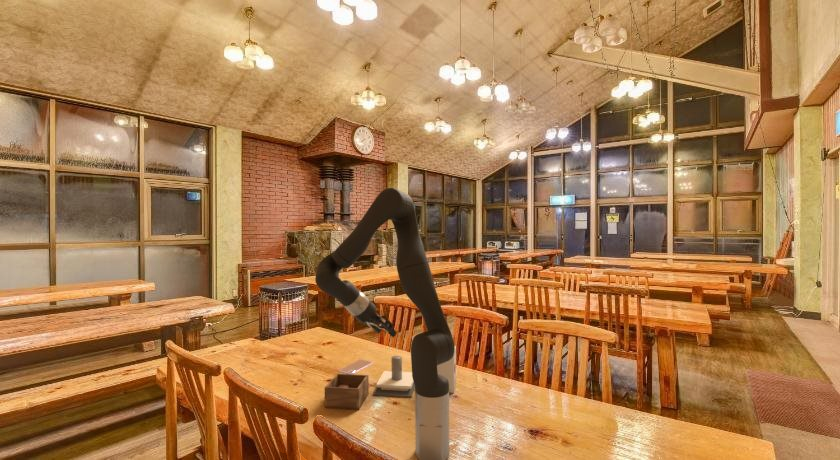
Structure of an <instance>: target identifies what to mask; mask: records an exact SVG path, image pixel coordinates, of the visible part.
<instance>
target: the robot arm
mask: <svg viewBox="0 0 840 460" xmlns="http://www.w3.org/2000/svg"><path fill="white" fill-rule="evenodd" d="M387 221H391V222H392V223H391V224H392V225H393V228H394V231H395V234H396V239H397V251H396V261H395V262H396V270H397V274H398V277H399V282H400V286H401V289H402V290H403V292H404V293H405V295H406V296H407V297H408V299H409V300H410V301H411V302H412V304H414V305H415V307H416V308H417V309H418V311H419V313H420V314H421V315H422V318H423V320H424V325H425V328H426V331H423V332H419V333H418V334H416V335H415V336H414V337H413V338H412V341H411V343H410V344H411V345H410V360H411V372H412V377H413V381H414V384H415V388H414V414H415V415H414V417H415V418H414V419H415V420H414V421H415V423H414V425H415V426H414V428H415V431H414V435H415V437H414V438H415V439H414V440H415V457H416V458H417V457H418V458H419V459H418V458H417V459H418V460H447V459H448V458H449V456H450V393H449V381H448V379H447V378H446V377H444V376H442V375H439V374H438V371H437V365H440V364H442V363H445V362H447V361H449V360H451V359H452V357H453V356H454V352H455V346H456V345H455V341H454V338H453V334H452V332H451V329H450V327H449V324H448V321H447V319H446V317H445V314H444V311H443V309H442V305H441V301H440V299H439V297H438V293H437V289H436V287H435V283H434V279H433V275H432V274H433V273H432V271H431V268H430V264H429V261H428V257H427V254H426V251H425V248H424V244H423V240H422V238H421V234H420V231H419V224H418V220H417V213H416V208H415V203H414V201H413V199H412V197H411V196H410V195H409V194H408V193H406V192H404V191H402V190H400V189H398V188H394V187H387V188H384V189H383V190H381V191H380V192H379V194H378V195H377V196H376V197H375V199H374V200H373V202H372V203H371V205H370V206H369V208H368V209H367V211H366V212H365V214H364V215H363V216H362V218H361V219H360V221H359V223H358V224H357V225H356V227H354V229H353V230H352V231H351V232H350V234H349V235H348V236H347V237H346V238H345V239H344V240H343V241H342V242H341V243H340V245H338V246H337V248H336V249H335V250H333V251H332V252H330V253H329V254H327V255H326V256H325V257H324V258H322V259H321V260H320V262H319V263H318V265H317V266H316V272H315V278H314V279H315V281H314V282H315V284H316V286H317V287H318V288H319V290H321V292H324V293H325V294H327V295H328V296H330V297H333V298H335V299H336V300H337V301H338V302H339V303H340V304H341V305H342V306H343V307H344V308H345V309H346V310H347V311H348V313H349V314H351V315H352V317H354V318H355V319H356V320H357V321H358V323H362V324H364V325H365V327H369V328H370V329H371V328H372V330H373V331H375V333H377V334H380V333H382V330H383V331H385V332H386V333H387V334H389V336H390V337H392V338H396V336H397V333H398V332H397V330H396V329H394V327H395V325H394V323H393V322H391V321H390V320H389V319H388V318H387V317H386V316H385V315H383V314H382V315H381V314H379V313H377V306H376V305H375V303H373V301H371V299H370V298H368V297H367V296H366V294H364V292H362V291H361V290H359V288H357V287H356V285H354V284H353V282H351V281H350V280H345V279H344V280H342V279H341V278H340V276H339V275H340V271H341V270H343V269H348V268H350V267H352V266H353V265H354V264H355V263H356V262H357V260H359V259H360V258H361V257H362V255H363V254H364V253H365V252H366V251H367V249H368V247H369V245H370V244H371V241H372V239H373V237H374V235H375V233H376V232H377V231H378V230H379V228H380V227H382V226H383V225H384V224H385V223H387Z"/></svg>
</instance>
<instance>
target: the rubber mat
mask: <svg viewBox="0 0 840 460" xmlns="http://www.w3.org/2000/svg"><path fill="white" fill-rule="evenodd" d="M375 388H376V389H375V390H374V392H373V393H372V394H373V396H374V397H390V398H391V397H392V398H410V399H411V398H412V397H413V394H414V392H415V384H414V382H413V385H412V387H411V389H408V391H397V390H381V387H375Z"/></svg>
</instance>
